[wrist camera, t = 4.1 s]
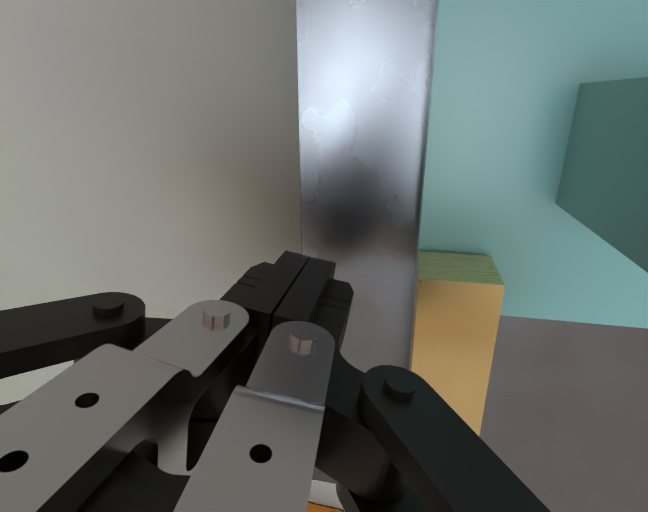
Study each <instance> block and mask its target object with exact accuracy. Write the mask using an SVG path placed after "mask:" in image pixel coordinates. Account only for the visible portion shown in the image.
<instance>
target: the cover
mask: <svg viewBox="0 0 648 512" xmlns="http://www.w3.org/2000/svg"><path fill="white" fill-rule="evenodd" d="M418 251H423V252H438V253H453V254H469V255H484V256H491V258H492V260H493V262H494V264H495V266H496V268H497V270H498V272H499V274H500V276H501V278H502V280H503V282H504V284H505V288H504V294H503V300H502V306H501V312H500V315H504V316H515V317H526V318H537V319H548V320H559V321H570V322H581V323H592V324H603V325H614V326H625V327H636V328H647V329H648V0H437V9H436V21H435V33H434V45H433V57H432V69H431V81H430V94H429V106H428V118H427V130H426V142H425V154H424V166H423V178H422V191H421V203H420V215H419V227H418V239H417V251H416V263H415V276H414V293H413V307H414V299H415V287H416V275H417V263H418Z"/></svg>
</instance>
